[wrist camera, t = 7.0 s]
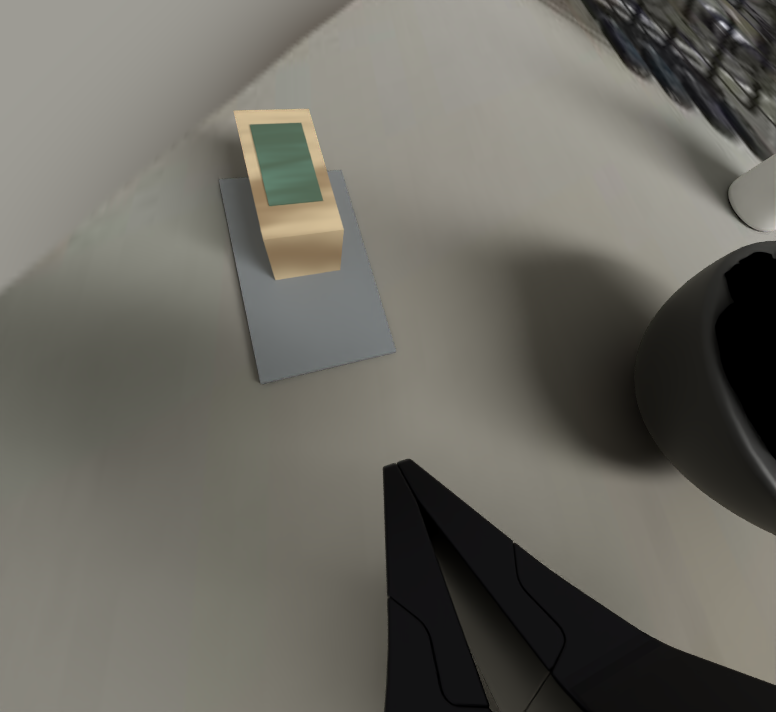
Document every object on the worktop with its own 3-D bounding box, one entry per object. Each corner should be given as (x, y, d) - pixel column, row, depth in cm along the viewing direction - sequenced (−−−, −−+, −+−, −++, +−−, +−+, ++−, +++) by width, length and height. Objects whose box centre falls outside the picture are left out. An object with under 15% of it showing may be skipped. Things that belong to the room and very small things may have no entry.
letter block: (343, 228, 20) (308, 107, 22) (262, 238, 19) (233, 109, 21) (340, 269, 25) (311, 167, 27) (275, 280, 24) (250, 171, 26)
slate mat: (395, 352, 24) (396, 351, 24) (261, 384, 22) (260, 383, 22) (341, 173, 28) (341, 170, 28) (220, 183, 25) (218, 179, 25)
